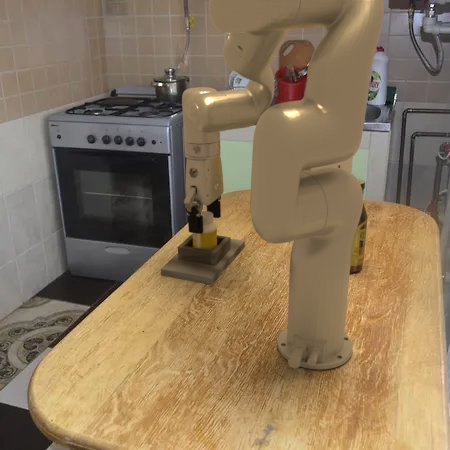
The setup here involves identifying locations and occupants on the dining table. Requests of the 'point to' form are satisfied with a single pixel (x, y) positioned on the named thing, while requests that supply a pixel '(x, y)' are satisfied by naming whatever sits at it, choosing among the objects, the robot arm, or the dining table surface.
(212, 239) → the supplement bottle
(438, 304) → the dining table surface
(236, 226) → the dining table surface
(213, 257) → the collar board
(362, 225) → the sauce bottle
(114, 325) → the dining table surface
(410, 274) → the dining table surface
